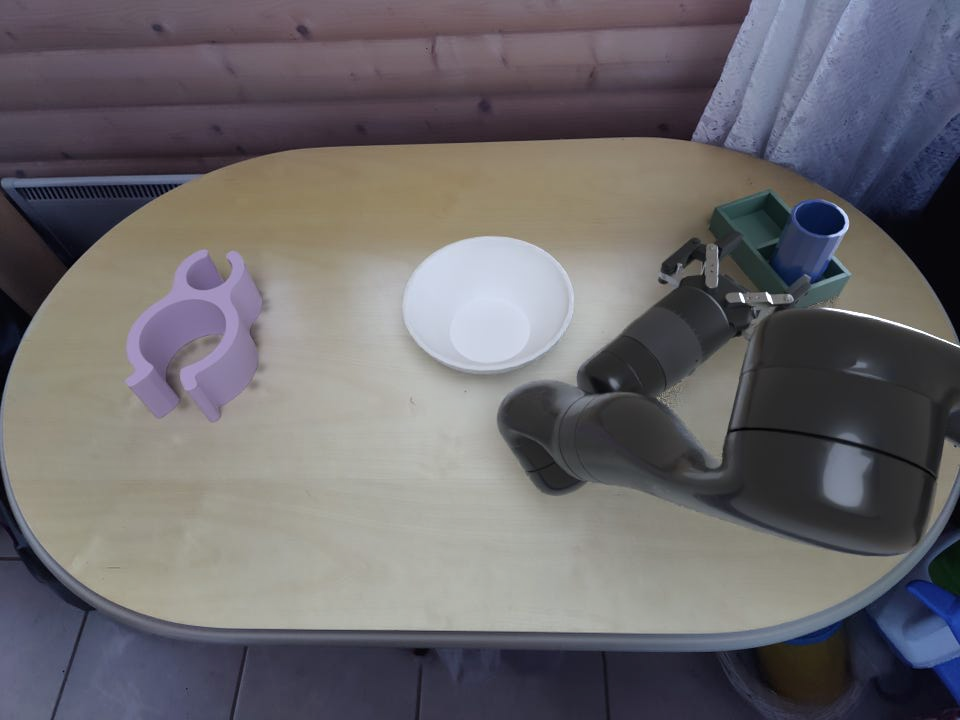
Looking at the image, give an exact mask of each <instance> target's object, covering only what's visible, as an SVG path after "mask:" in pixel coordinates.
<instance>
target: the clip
mask: <svg viewBox="0 0 960 720" xmlns="http://www.w3.org/2000/svg"><path fill="white" fill-rule="evenodd" d="M225 256H226V260H227V261H228V263H229V265H230V268H231V273H230V275H229V277H228V278H227V279H226V280H225V281H224V278H223V276H222V274H221V273H220V271H219V269H218V267H217V266H216V263H215V262H214V260H213V259H212V257H211V254H210V253H209V251H208V249H205V248H203V249H200V250H198V251H196V252H194V253H192V254H191V255H189V256H188V257H186V258H185V259H184V260H183V261H182V262H181V263H180V264H179V266H178V267H177V269H176V270H175V273H174V278H173V285H172V288H171V289H170V291H169V293H168V294H167V295H165V296H164V297H163V298H161V299H160V300H158V301H157V302H154V303H153V304H151V306H149V307H148V308H147V309H146V310H144V312H142V313H141V314H140V315H139V317H138V318H136V320H135V321H134V322H133V324H132V326H131V328H130V330H129V332H128V335H127V338H126V344H125V345H126V346H125V350H126V351H125V352H126V356H127V359H128V361H129V363H130V364H131V366H132V367H133V368H134V373H132V374H131V375H130V376H128V377H127V378H126V379H125V385H126V386H127V387H128V388H129V389H130V390H131V391H132V393H134V395H135V396H136V397H137V398H138V399H139V401H141V402H142V404H143V405H144V406H145V407H146V408H147V409H148V410H149V412H151V414H152V415H153V416H154V417H155V418H157V419H161V418H163V417H165V416H166V415H167V414H169V413H170V412H172V411H173V410H174V409H175V408H176V407H177V405H178V404H179V403H180V401H181V400H180V397H179V396H178V395H177V393H176V392H175V391H174V390H173V389H172V387H171V385H169V383H168V382H167V370H168V367H169V365H170V362H171V361H172V359H173V358H174V356H175V355H176V354H177V353H178V352H179V350H181V349H182V348H183V347H184V346H186V345H187V344H189V343H191V342H192V341H194V340H197V339H199V338H203V337H206V336H214V335H216V336H217V335H218V336H219V335H221V336H222V339H221V340H220V342H219V343H218V345H217V346H216V348H214V350H212V352H210V353H209V354H208V355H207V356H205V357H204V358H202V359H201V360H199V361H197V362H195V363H192V364H190V365H187V366H184V367H182V368H181V369H180V371H179V380H180V382H181V384H182V387H183V389H184V390H185V392H186V393H187V394H188V396H189V397H190V399H191V400H192V401H193V402H194V403H195V405H196V407H198V408H199V410H200V411H201V413H202V414H203V416H205V418H206V419H207V420H208V421H209V422H210V423H215V422H218V421H219V420H220V419H221V415H222V414H221V413H220V411H219V408H220V407H221V406H223V405H225V404H227V403H228V402H230V401H232V400H233V399H235V398H236V397H238V396H239V395H240V394H241V393H242V392H243V391H244V390H245V389H246V388H247V387H248V386H249V384H250V382H251V381H252V379H253V377H254V375H255V373H256V371H257V368H258V363H259V352H258V348H257V345H256V343H255V342H254V339H253V338H252V336H251V328H252V325H253V323H254V322H255V321H256V320H257V318H258V317H259V315H260V314H261V312H262V309H263V297H262V295H261V293H260V291H259V290H258V286H257V285H256V283H255V281H254V279H253V276H252V275H251V273H250V271H249V269H248V267H247V265H246V263H245V261H244V259H243V257H242V255H241V254H240V253H239V252H237V251H236V250H231V251H229V252H228V253H227V254H226V255H225Z"/></svg>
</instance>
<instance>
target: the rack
mask: <svg viewBox="0 0 960 720" xmlns="http://www.w3.org/2000/svg"><path fill="white" fill-rule="evenodd" d="M791 211H792V209H791V208H790V207H789V206H788V204H786V203H785V202H784V200H783V199H781V197H780V196H778V194H777V193H776V192H775V191H774V190H773V189H772V188H768V189H765V190H763V191H760V192H756V193H753V194H751V195H748V196H744V197H741V198H738V199H735V200H732V201H728V202H726V203H723V204H720V205H717V206H714V208H713V212H712V215H711V218H710V221H709V224H708V230H709V231H710V232H711V233H712V235H713V236H714V237H715V238H716V240H719V239H720V238H721V237H723V236H724V235H725V234H726V233H729V232H733V233H735V232H736V231H738V230H739V231H740V232H742V233H743V234H744V236H743V238H742V241H741V244H740V245H739V247H738V248H737V249H735V250H734V251H733V252H731V253H730V254H729V255H730V257H731V258H732V259H733V260H734V262H735V263H736V264H737V265H738V266H739V268H741V270H742V271H743V272H744V274H745V275H746V276H747V277H748V278H749V280H750V281H751V282H752V283H753V284H754V286H755V287H756V288H757V289H758V290H759V293H760V292H767V293H768V294H769V295H776V294H783V293H784V291H785V290H786V289H788V288H789V287H788V286H787V285H786V284H785V282H784V281H783V280H782V279H781V278H780V277H779V275H778V274H777V273H776V272H775V271H774V270H773V269H772V267H771V266H770V265H769V264H768V263H769V261H770V259H771V256H772V254H773V252H774V250H775V247H776V245H777V243H778V240H779V238H780V236H781V234H782V231H783V229H784V227H785V225H786V222H787V220H788V218H789V215H790V213H791ZM852 275H853V274H852V273H851V272H850V271H849V269H848V268H847V267H845V265H844V263H843V264H842V262H841V261H840V259H838V258H837V257H836V256H835V254H834V255H833V257H832V258H831V260H830V262H829V264H828V266H827V268H826V269H825V271H824V273H823V275H822V277H821V278H820V280H819V282H817V283H814V284H812V285H811V288H810V290H809V292H808V293H807V295H806V297H805V298H804V299H802V300H801V301H800V302H799V303H798V304H797V305H795V306H796V307H797V308H800V307H811V306H813V305H817V304H818V303H821V302H824V301H827V300H830V299H832V298H835V297H838V296H840V295H841V293H842V292H843V290H844V289H845V287H846V285H847V284H848V282H849V280H850V278H851V277H852Z"/></svg>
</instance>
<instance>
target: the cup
mask: <svg viewBox="0 0 960 720" xmlns="http://www.w3.org/2000/svg"><path fill="white" fill-rule="evenodd" d="M791 210H792V211H791V213H790V215H789V218H788V220H787V222H786V225H785V227H784V229H783V231H782V234H781V236H780V238H779V240H778V243H777V245H776V247H775V250H774V252H773V254H772V256H771V259H770V261H769V263H768V264H769V265H770V266H771V267H772V269H773V270H774V271H775V272H776V273H777V274H778V275H779V277H780V278H781V279H782V280H783V281H784V282H785V284H786V285H787V286H788V287H790V286H791V285H792V284H794V283H795V282H796V281H797V280H798V279H800V278H801V277H802V276H803V275H804V274H806V275H807V276H809V277H810V278H811V280H810V282H809V283H810V284H814V283H817V282H819V280H820V278H821V277H822V275H823V273H824V271H825V269H826V268H827V266H828V264H829V262H830V260H831V258H832V257H833V255H834V256H835V253H836V251H837V249H838V247H839V246H840V245H841V244H840V243H841V242H842V240H843V238H844V236H845V235H846V233H847V231H848V229H849V225H850V221H849V216H848V214H847V213H846V212H845V211H844V210H843V209H842V208H841V207H840V206H838V205H836V204H835V203H833V202H830V201H827V200H824V199H817V198H815V199H813V198H809V199H805V200H801V201H800V202H797V203H796V204H795V205H794V206H793V207H792V209H791Z"/></svg>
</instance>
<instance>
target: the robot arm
mask: <svg viewBox="0 0 960 720" xmlns="http://www.w3.org/2000/svg"><path fill="white" fill-rule="evenodd" d="M743 236H744V234H743V233H742V232H740V231H739V230H738V231H736V232H735V233H733V232H729V233H726V234H725V235H724V236H723V237H721V238H720V239H719V240H718V239H716V241H715V242H713V243H707V244H705V243H703V242H702V241H701V239H700V238H699V237H691V238H689V240H687V241H686V242H685V243H684V244H683V245H681V246H680V247H679V248H678V249H677V250H676V251H675V252H673V253H672V254H671V255H669V256H668V257H667V258H666V259H665V260H664V261H663V262H662V263H661V266H660V269H659V274H658V278H657V282H658V283H659V284H661V285H668V284H670V285H672V286H673V287H675V288H674V289H673V290H672V291H670V292H668V293H667V294H666V295H665V296H664V297H662V298H661V299H660V300H658V301H657V302H656V303H655V304H653V305H651V307H649V308H648V309H647V310H645V311H644V312H643V313H641V314H640V315H639V316H637V317H636V318H635V319H634V320H632V321H631V322H630V323H629V324H628V325H627V326H626V327H625V328H624V329H623V330H622V331H621V332H620V333H619V334H618V335H617V336H615V337H614V338H613V339H612V340H610V341H609V342H608V343H606V344H605V345H604V346H603V347H601V348H600V349H598V350H597V351H596V352H595V353H593V354H592V355H591V356H590V357H588V358H587V359H586V360H585V361H584V362H582V363H581V364H580V366H579V367H578V369H577V372H576V384H577V385H576V386H575V385H572V384H569V383H567V382H563V381H559V380H554V379H539V380H532V381H530V382H529V381H528V382H526V383H524V384H522V385H519V386H517V387H516V388H514V389H513V390H512V391H510V392H509V393H508V394H507V395H506V396H505V397H504V398H503V400H502V401H501V403H500V404H499V407H498V409H497V413H496V425H497V429H498V432H499V434H500V436H501V437H502V438H501V439H503V440H504V442H505V443H506V445H507V447H508V448H509V449H510V451H511V453H512V454H513V455H514V457H515V458H516V460H517V461H518V463H519V465H520V466H521V467H522V469H523V471H524V472H525V474H526V476H527V477H528V478H529V480H530V482H532V484H533V486H534V487H535V488H536V489H537V490H538V491H539V492H540V493H542V494H543V495H546V496H551V497H560V496H566V495H570V494H572V493H574V492H576V491H578V490H580V489H581V488H582V487H584V486H585V485H586V484H588V483H592V484H600V485H606V486H614V487H622V488H627V489H631V490H635V491H639V492H642V493H645V494H648V495H651V496H653V497H656V498H659V499H661V500H664V501H666V502H669V503H671V504H674V505H677V506H679V507H681V508H684V509H687V510H691V511H694V512H696V513H700V514H702V515H704V516H705V515H706V516H709V517H712V518H715V519H718V520H721V521H724V522H727V523H730V524H734V525H737V526H740V527H743V528H746V529H750V530H753V531H755V532H759V533H762V534H766V535H768V536H769V535H770V536H773V537H776V538H779V539H781V540H782V539H783V540H786V541H788V542H793V543H796V544H800V545H805V546H808V547H812V548H817V549H821V550H826V551H829V552H836V553H840V554H847V555H852V556H853V555H855V556H861V557H881V558H882V557H887V558H888V557H894V556H900V555H903V554H907V553H909V552H912V551H914V550H915V549H916V548H918V547H919V546H920V545H921V544H922V542H923V541H924V538H925V536H926V535H927V532H928V529H929V525H930V522H931V518H932V515H933V512H934V511H933V510H934V506H935V501H936V496H937V490H938V489H937V488H938V479H939V476H940V469H941V463H942V458H943V451H944V446H945V441H947V442H948V443H950V444H952V445H954V446H956V447H958V448H960V346H959V345H957V344H954V343H952V342H949V341H947V340H945V339H942V338H939V337H937V336H934V335H932V334H929V333H927V332H924V331H922V330H919V329H916V328H913V327H910V326H907V325H904V324H902V323H899V322H896V321H895V322H894V321H892V320H888V319H884V318H882V317H878V316H873V315H870V314H866V313H860V312H857V311H851V310H844V309H838V308H831V307H819V306H808V307H800V308H797V307H796V306H795V305H797V304H798V303H799V302H800V301H801V300H802V299H804V298H805V297H806V295H807V293H808V292H809V290H810V288H811V285H812V284H810V283H809V282H810V280H811V278H810V277H809V276H807V275H806V274H804V275H803V276H802V277H801V278H800V279H798V280H797V281H796V282H795V283H794V284H792V285H791V286H790V287H789V288H788V289H786V290H785V291H784V293H783V294H776V295H769V294H768V293H767V292H760V291H759V292H751V291H750V289H749V288H747V287H746V286H744V285H742V284H740V283H737V282H736V281H735V280H734V279H733V278H732V277H731V276H729V275H728V274H727V273H724V274H721V273H719V263H720V262H721V261H722V260H724V259H725V258H726V257H728V256H729V255H730V253H731V252H733V251H734V250H735V249H737V248H738V247H739V245H740V244H741V241H742V238H743ZM695 260H696V261H698V262H701V264H700V266H701V267H700V274H695V275H693V274H692V275H686V276H683V275H684V271H685V269H687V268H688V266H690V265H691V264H692V263H694V261H695ZM752 306H754V307H752ZM752 323H753V324H754V323H757V325H756V326H755V327H754V326H752V325H751V324H752ZM739 337H743V338H744V339H745V340H746V341H748V343H747V347H746V350H745V354H744V358H743V362H742V365H741V369H740V372H739V376H738V383H737V388H736V392H735V396H734V400H733V405H732V409H731V412H730V413H731V414H730V417H729V422H728V426H727V430H726V435H725V436H724V440H723V445H722V453H721V461H719V460H718V459H717V458H715V457H714V456H713V455H712V454H711V453H710V452H709V451H708V450H707V449H706V448H705V447H704V445H703V444H702V443H701V442H700V441H699V439H697V437H696V436H695V434H693V432H692V430H691V429H690V428H689V427H688V426H687V425H686V423H685V422H684V421H683V419H681V417H680V416H679V415H678V414H677V413H676V412H674V411H673V410H672V409H671V407H669V406H667V405H666V404H665V403H663V402H662V401H660V400H659V399H657V398H658V397H660V396H661V395H662V394H663V393H665V392H666V391H667V390H669V389H671V388H673V387H674V386H676V385H678V384H679V383H680V382H682V381H684V379H685V378H687V377H690V376H691V375H692V374H693V373H694V372H695V371H697V369H698V368H699V367H700V366H701V365H702V364H704V363H705V362H706V361H707V360H708V359H710V358H711V357H712V356H713V355H714V354H715V353H717V352H718V351H720V349H721V348H722V347H724V346H726V344H728V342H730V341H731V340H732V339H735V338H739Z"/></svg>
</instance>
